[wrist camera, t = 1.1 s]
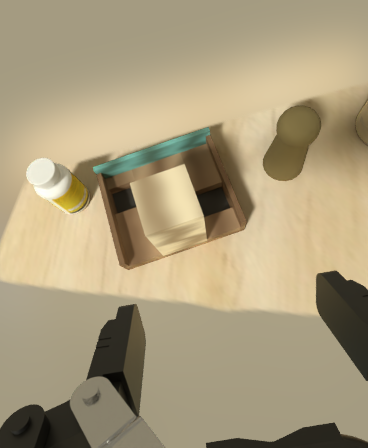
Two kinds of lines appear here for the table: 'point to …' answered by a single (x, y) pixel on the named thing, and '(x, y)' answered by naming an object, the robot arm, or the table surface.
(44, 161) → the supplement bottle
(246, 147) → the table surface
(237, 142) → the table surface
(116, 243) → the trap lane
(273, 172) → the olive pawn
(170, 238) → the maple block
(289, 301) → the table surface
